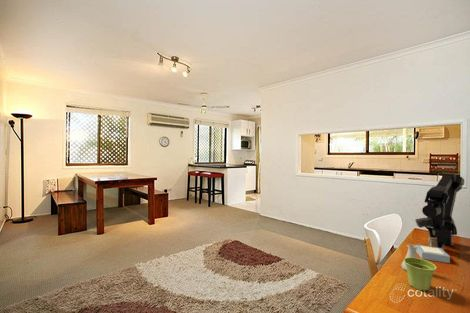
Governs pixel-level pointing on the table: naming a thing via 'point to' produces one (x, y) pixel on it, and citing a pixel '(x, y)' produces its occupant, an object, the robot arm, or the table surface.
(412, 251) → the flask
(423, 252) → the plinth
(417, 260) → the plant pot
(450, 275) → the table surface
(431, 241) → the walnut block
